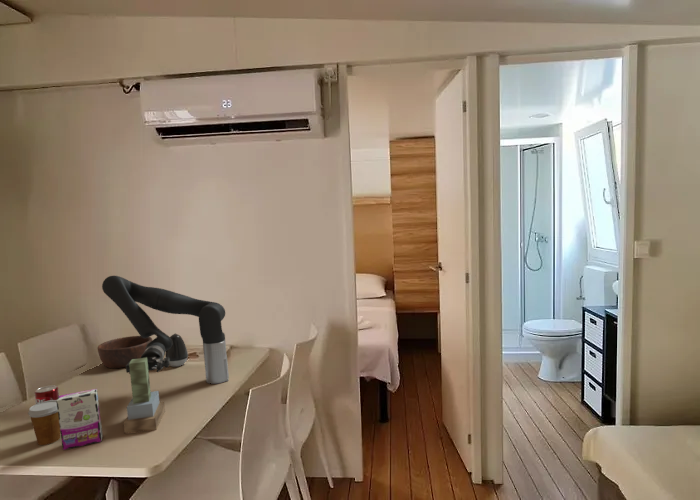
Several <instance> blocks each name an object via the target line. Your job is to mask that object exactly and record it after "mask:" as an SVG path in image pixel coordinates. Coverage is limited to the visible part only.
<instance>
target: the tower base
mask: <svg viewBox="0 0 700 500" xmlns="http://www.w3.org/2000/svg"><path fill="white" fill-rule="evenodd" d="M159 402H160V403H159V405H158V407H157V410H156V412H155V414H154V416H153V417H146V418H139V419H131V420H128V416H126V418H125V420H124V421H123V430H124V435H129V434H135V433H143V432H150V431H157V429H158V427H159V426H160V423H161V421H162V419H163V417H164V415H165V414H166V405H165V401H164V400H163V401H162V400H161V401H159Z"/></svg>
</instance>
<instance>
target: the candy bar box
mask: <svg viewBox="0 0 700 500" xmlns="http://www.w3.org/2000/svg"><path fill="white" fill-rule="evenodd" d="M56 402H57V409H58V417H59V425H60V439H61V449H62V450H63V451H67V450H71V449H74V448H79V447H84V446H89V445H91V444H96V443H101V442H102V440H103V436H104V435H103V428H102V418H101V410H100V403H99V396H98V388H93V389H88V390H87V389H86V390H83V391H77V392H72V393H68V394H67V393H66V394H63V395H62V394H61V395H59V397H58V399H57V401H56Z"/></svg>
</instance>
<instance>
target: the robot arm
mask: <svg viewBox="0 0 700 500" xmlns="http://www.w3.org/2000/svg"><path fill="white" fill-rule="evenodd" d="M101 289H102V292H103V293H104V294H105V295H106V296H107V297H108V298H109V299H110V300H111V301H112V302H113V303H115V305H116V306H117V307H118V308H119V309H120V310H121V311H122V313H123V314H124V315H125V317H126V318H127V319H128V321H129V322H130V323H131V324H132V326H133V327H134V329H135V331H137V333H138V335H139V336H141V337H142V338H148V337H152V336H153V335H155V336H156V337H155V338H153V339H152V341H151V342H150V343H149V344H148V345H147V346H146V347H145V349H146V350H145V351H144V353H143V354H142V356H141V358H147V361H148V371H155V370H156V372H157V373H158V372H160V371H162V369H163V368H169V366H170V365H169V357H168V356H167V357H164V356H166V351H167V350H168V349H170V348H171V347H172V345H173V342H172V339H171V338H170V336H169V335H168V334H167V333H165V332H164V331H162V330H161V329H160V328H159V327H158V326H157V325H156V324H155V322H154V321H153V320H152V319H151V317H150V315H148V313H147V312H146V311H145V310H144V309H143V308H142V307H141V306H140V305H138V304H142V305H143V306H145V307H148V308H150V309H152V310H155V311H159V312H163V313H167V314H173V315H188V316H189V315H191V316H195V317H197V318H198V327H199V332H200V333H199V334H200V337H201V339H202V348H203V358H204V369H205V371H204V372H205V382H206V383H207V384H210V383H211V385H215V384H221V383H224V382H228V381H229V379H230V377H229V365H228V356H227V347H226V334H225V332H223V328H222V321H223V320H224V318H225V317H226V310H225V308H224V306H223V305H222V304H221V303H218V302H215V301H208V300H202V299H197V298H194V297H191V296H189V295H185V294H182V293H179V292H175V291H171V290H167V289H164V288H159V287H153V286H145V285H141V284H138V283H135V282H133V281H131V280H128V279H126V278H124V277H122V276H118V275H109V276H107V277H106V278H105V279H103V282H102V285H101ZM129 363H130V362H129ZM129 363H128V364H127V365H126V367H125V372H126V373H128V374H129V375H130V368H129Z"/></svg>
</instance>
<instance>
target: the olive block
mask: <svg viewBox="0 0 700 500" xmlns="http://www.w3.org/2000/svg"><path fill="white" fill-rule="evenodd" d="M129 368H130V374H129V377H130V385H131V394H132V398H133V404H135V403H142V402H148V401H149V400H150V397H151V392H152V391H151V382H150V374H149V371H150V370H148V361H147V358H139V359H132V360H131V361H130V363H129Z"/></svg>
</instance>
